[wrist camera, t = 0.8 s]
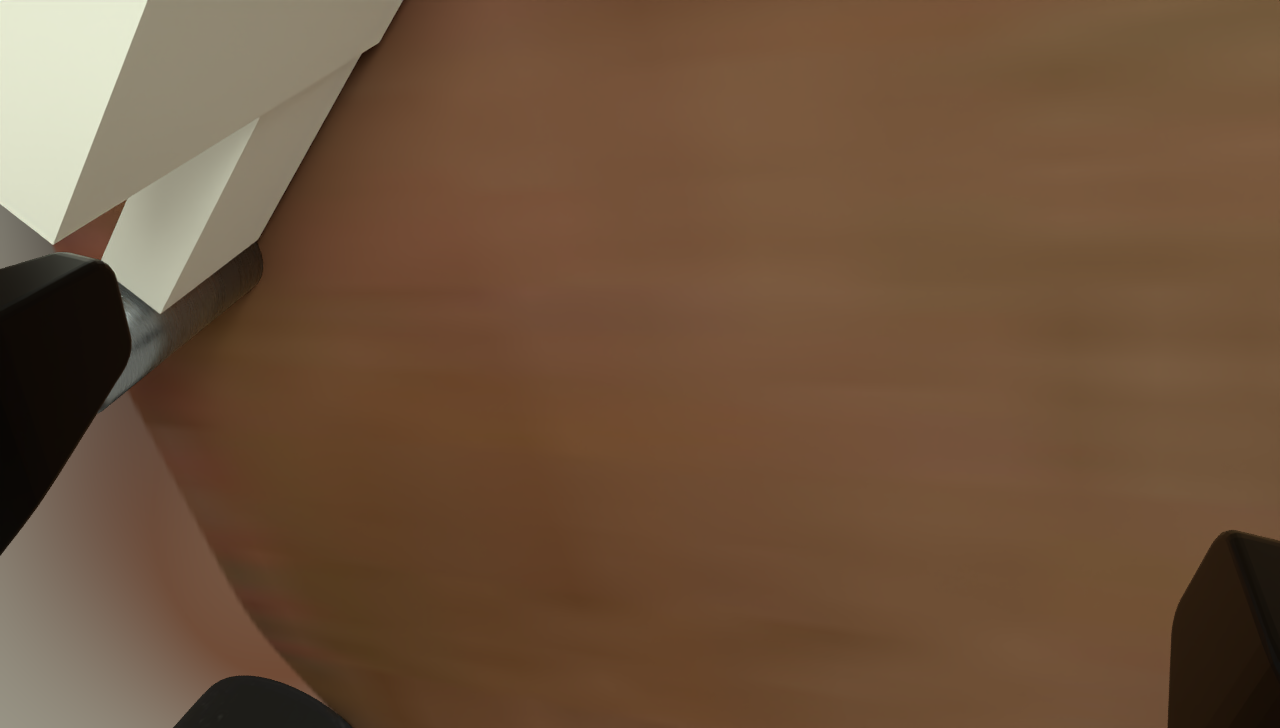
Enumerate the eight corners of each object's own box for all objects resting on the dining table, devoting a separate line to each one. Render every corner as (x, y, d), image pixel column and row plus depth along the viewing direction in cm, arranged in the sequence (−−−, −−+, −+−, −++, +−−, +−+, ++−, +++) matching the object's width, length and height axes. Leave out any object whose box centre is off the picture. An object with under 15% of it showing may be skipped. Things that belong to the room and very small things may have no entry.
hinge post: (275, 293, 28) (127, 418, 24) (197, 291, 29) (41, 412, 25) (244, 204, 27) (82, 320, 23) (164, 205, 28) (-7, 316, 24)
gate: (264, 244, 27) (-38, 480, 20) (196, 190, 27) (-136, 408, 20) (570, -297, 19) (236, -229, 11) (474, -383, 18) (70, -370, 11)
